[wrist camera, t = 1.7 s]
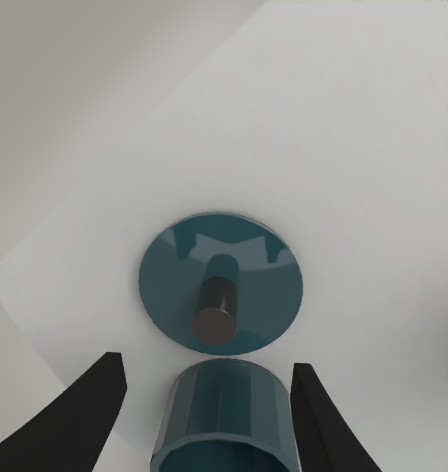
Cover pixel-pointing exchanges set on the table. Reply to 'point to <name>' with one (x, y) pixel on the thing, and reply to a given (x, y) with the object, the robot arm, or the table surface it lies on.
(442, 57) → the table surface
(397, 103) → the table surface
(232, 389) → the tin
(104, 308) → the table surface
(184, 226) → the tin lid
